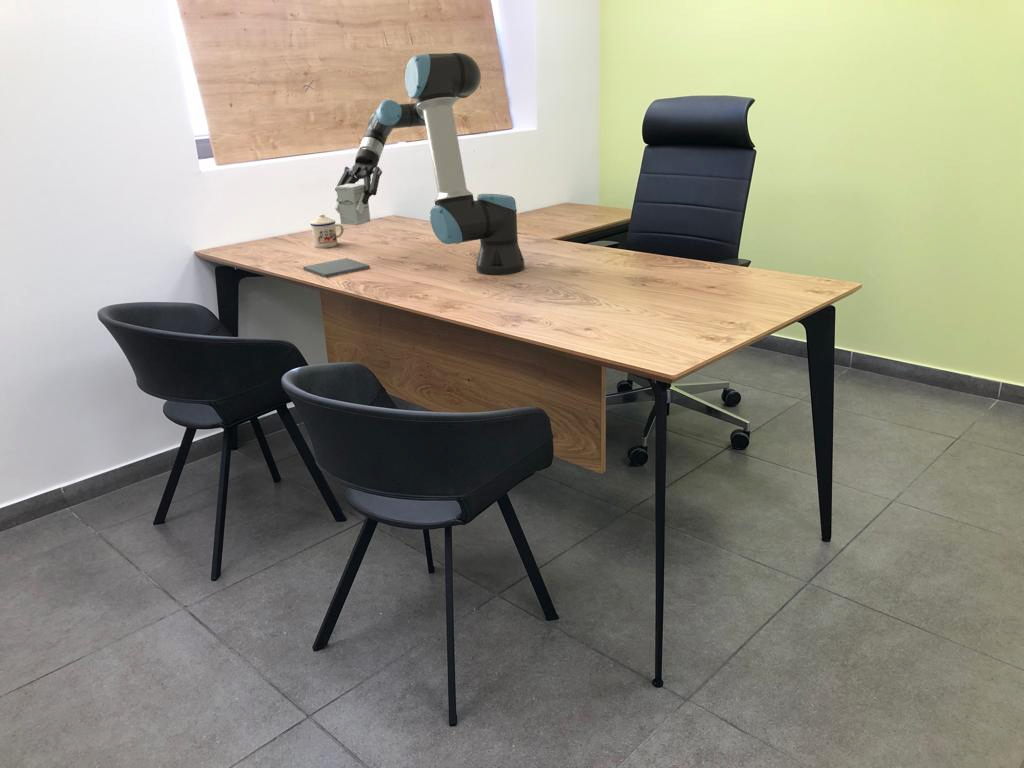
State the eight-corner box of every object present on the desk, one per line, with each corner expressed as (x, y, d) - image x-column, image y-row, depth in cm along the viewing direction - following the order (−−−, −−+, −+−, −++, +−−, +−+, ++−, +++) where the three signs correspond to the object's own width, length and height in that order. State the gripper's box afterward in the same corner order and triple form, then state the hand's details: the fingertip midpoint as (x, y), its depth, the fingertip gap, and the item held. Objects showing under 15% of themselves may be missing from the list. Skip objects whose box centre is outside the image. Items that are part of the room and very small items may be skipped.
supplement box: (340, 224, 270) (334, 186, 265) (354, 220, 276) (349, 183, 271) (357, 225, 267) (352, 186, 262) (371, 221, 273) (366, 183, 268)
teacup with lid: (318, 249, 296) (313, 217, 292) (310, 245, 304) (306, 214, 299) (349, 244, 302) (345, 213, 298) (340, 240, 309) (336, 210, 305)
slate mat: (369, 268, 264) (369, 265, 264) (324, 277, 255) (324, 274, 255) (347, 260, 276) (346, 258, 276) (303, 269, 267) (303, 266, 267)
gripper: (399, 161, 274) (379, 218, 266) (349, 161, 282) (328, 217, 274) (389, 147, 267) (369, 205, 260) (338, 147, 275) (316, 204, 268)
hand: (348, 211), depth 267 cm, fingers closed on supplement box, 8 cm apart
